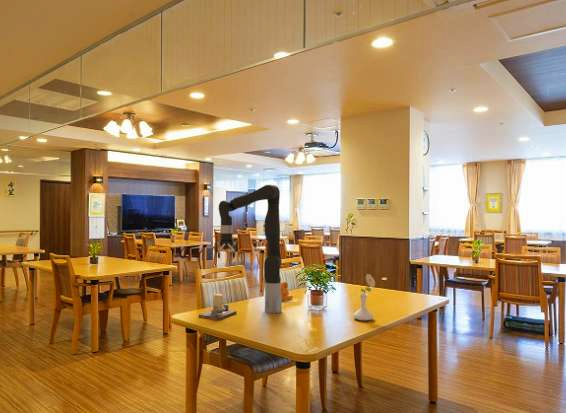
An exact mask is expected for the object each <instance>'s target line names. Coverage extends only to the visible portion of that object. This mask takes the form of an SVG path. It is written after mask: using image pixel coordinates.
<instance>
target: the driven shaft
mask: <svg viewBox="0 0 566 413" xmlns="http://www.w3.org/2000/svg"><path fill="white" fill-rule="evenodd" d="M211 310H212V311H211ZM211 310H210V311H211V316H214V317H216V316H217V311H215V310H213V309H211Z"/></svg>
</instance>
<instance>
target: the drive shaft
mask: <svg viewBox="0 0 566 413" xmlns="http://www.w3.org/2000/svg"><path fill="white" fill-rule="evenodd" d="M229 306H230V305H229V304H226V303H225V304H222V311H225V310H229Z"/></svg>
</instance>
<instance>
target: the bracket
mask: <svg viewBox="0 0 566 413" xmlns="http://www.w3.org/2000/svg"><path fill="white" fill-rule="evenodd" d="M288 287H289V284H288V282H287V281H282V280H281V288H280V295H282V302H285V300H286V301H291V299H293V298H294V297H293V296H294V295H293V294H289V290H288Z"/></svg>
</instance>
